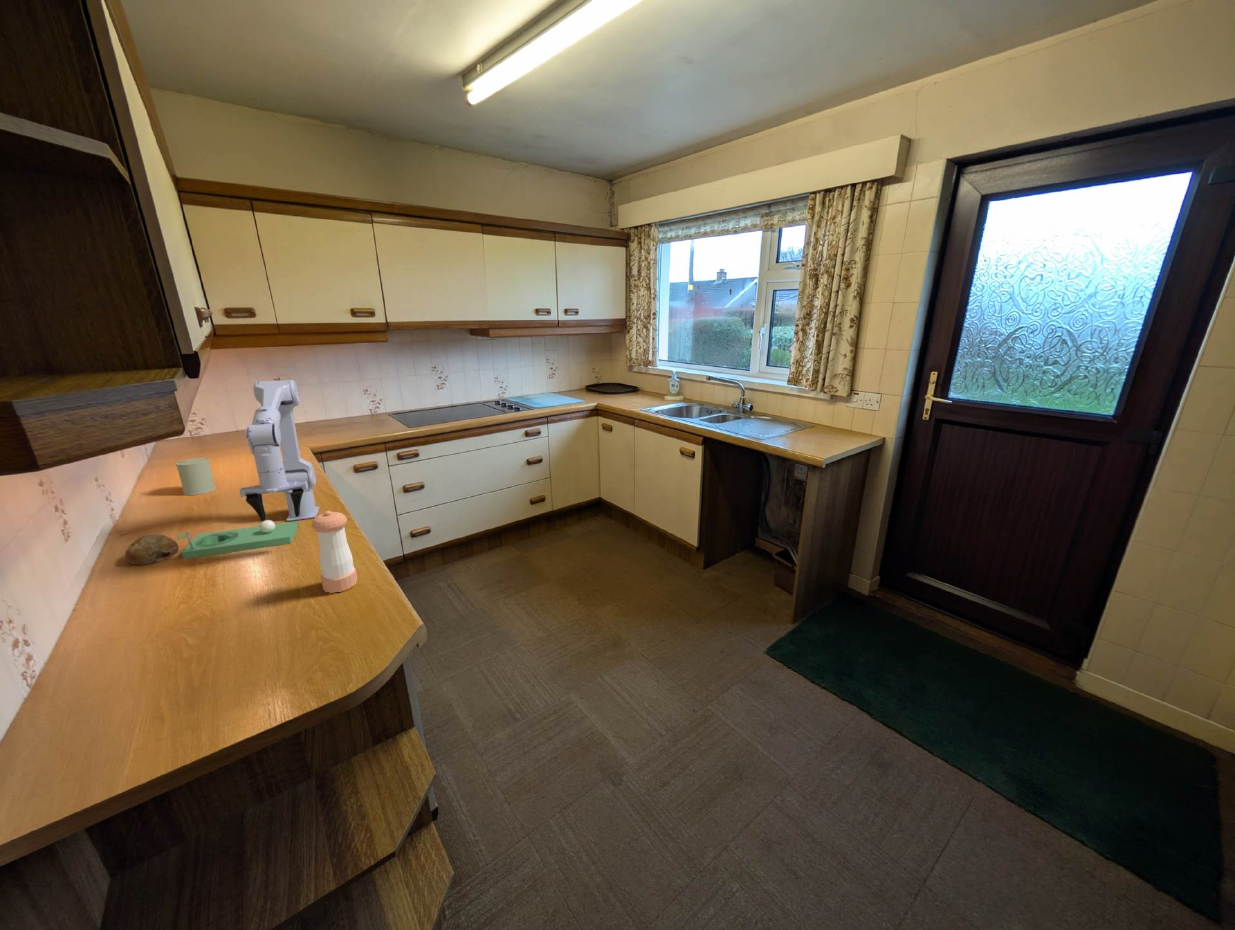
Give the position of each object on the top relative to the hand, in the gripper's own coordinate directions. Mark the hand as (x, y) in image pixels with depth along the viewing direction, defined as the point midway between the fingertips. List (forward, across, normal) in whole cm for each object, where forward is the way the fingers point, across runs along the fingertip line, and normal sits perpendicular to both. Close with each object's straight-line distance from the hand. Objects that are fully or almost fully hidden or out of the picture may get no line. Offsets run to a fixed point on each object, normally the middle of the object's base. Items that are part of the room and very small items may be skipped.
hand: (281, 517), depth 128 cm
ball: (+8, -6, +11) cm, 15 cm away
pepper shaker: (+10, +15, -26) cm, 31 cm away
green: (+10, -12, +11) cm, 19 cm away
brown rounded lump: (+10, -32, +10) cm, 35 cm away
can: (+10, -38, +68) cm, 79 cm away
